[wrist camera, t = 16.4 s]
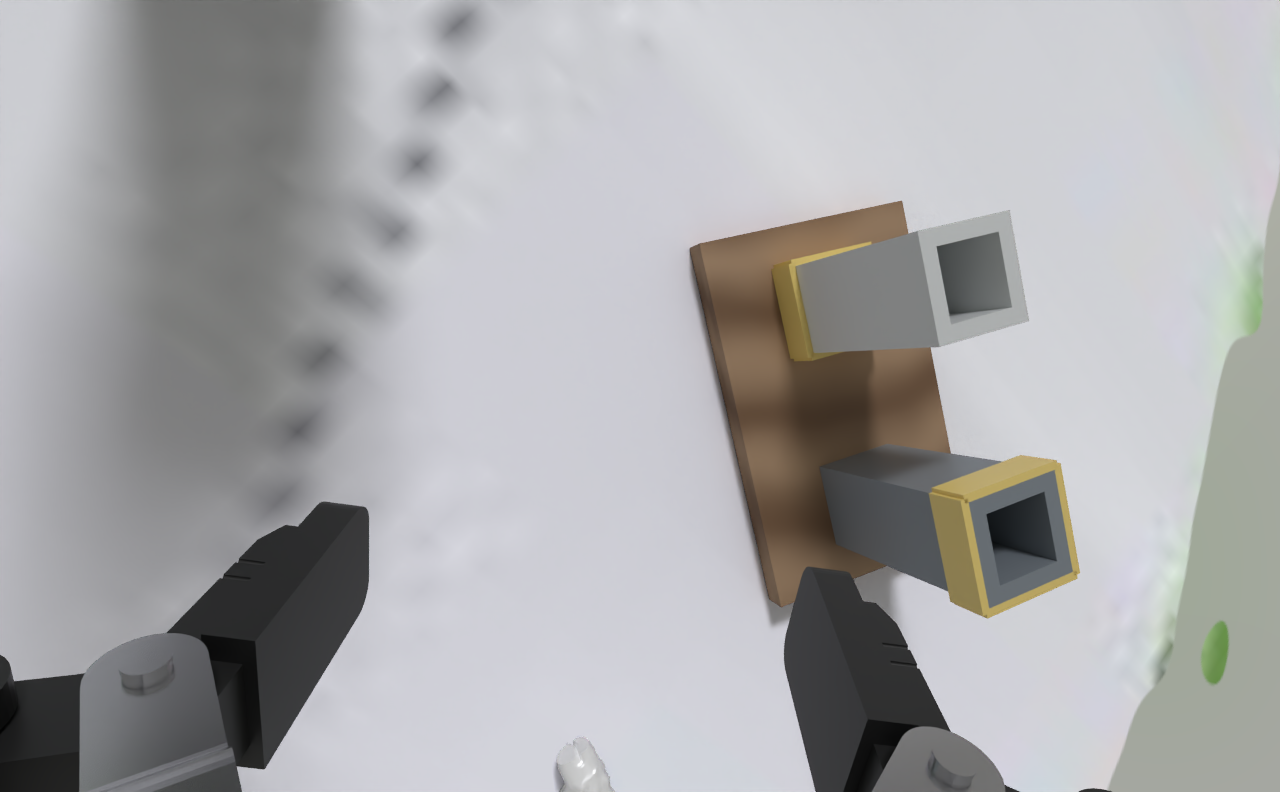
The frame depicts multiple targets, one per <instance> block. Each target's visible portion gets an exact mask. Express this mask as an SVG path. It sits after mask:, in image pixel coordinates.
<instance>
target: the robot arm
mask: <svg viewBox="0 0 1280 792" xmlns="http://www.w3.org/2000/svg"><path fill="white" fill-rule="evenodd" d="M368 583H369V515H368V511H367V509H366V508H365V507H361V506H354V505H346V504H338V503H331V502H321V503H319V504H318V505H317V506H316V507H315V508H314V510H313V511H312V512H311V513H310V514H309V515H308V516H307V517H306V518H305V519H304V521H303V522H302V523H301V524H300V525H299V526H298V527H296V526H288V525H285V526H283V527H281V528H279V529H277V530H275V531H273V532H271V533H269V534H268V535H266V536H264V537H262V538H260V539H258V540H257V541H256V542H255V543H254V544H253V545H252V546H251V547H250V548H249V549H248V550H247V551H246V552H245V553H244V554H243V555H242V556H241V557H240V558H239V562H238V563H236V562H235V563H234V564H233V565H232V566H231V567H230V568H229V570H228V571H227V572H226V573H225V574H224V576H223V579H221V578H220V579H219V580H218V581H217V582H216V583H215V584H214V585H213V586H212V587H211V588H210V589H209V590H208V591H207V592H206V593H205V594H204V595H203V596H202V597H201V598H200V599H199V600H198V601H197V602H196V603H195V604H194V605H193V606H192V607H191V608H190V609H189V610H188V611H187V613H186V614H185V615H184V616H183V617H182V618H181V619H180V620H179V621H178V622H177V623H176V624H175V625H174V626H173V627H172V628H171V629H170V630H169V631H168V632H167V633H163V634H155V635H150V636H145V637H141V638H138V639H135V640H132V641H129V642H127V643H124V644H122V645H120V646H118V647H116V648H114V649H112V650H111V651H109V652H107V653H106V654H104V655H103V656H102V657H100V658H99V659H98V660H96V661H95V662H94V663H93V664H92V665H91V666H90V667H89V669H88V670H87V671H86V673H84V674H77V675H69V676H60V677H51V678H42V679H32V680H23V681H14V680H13V676H12V671H11V667H10V664H9V662H8V661H7V659H6V658H5V657H3V656H1V655H0V792H242V790H241V785H240V781H239V776H238V771H237V767H236V766H240V767H248V768H257V769H265V768H266V766H267V764H268V763H269V761H270V760H271V758H272V756H273V755H274V753H275V751H276V750H277V748H278V746H279V745H280V743H281V742H282V740H283V738H284V737H285V735H286V733H287V732H288V730H289V728H290V727H291V725H292V724H293V722H294V720H295V719H296V717H297V715H298V714H299V712H300V711H301V709H302V707H303V706H304V704H305V702H306V701H307V699H308V697H309V696H310V694H311V693H312V691H313V689H314V688H315V686H316V684H317V683H318V681H319V679H320V678H321V676H322V675H323V673H324V671H325V670H326V668H327V666H328V665H329V663H330V661H331V660H332V658H333V657H334V655H335V653H336V652H337V650H338V648H339V647H340V645H341V644H342V642H343V640H344V639H345V637H346V635H347V634H348V632H349V630H350V629H351V627H352V626H353V624H354V622H355V621H356V619H357V617H358V616H359V614H360V612H361V610H362V607H363V605H364V602H365V598H366V594H367V590H368ZM907 647H908V645H907V643H906V641H905V639H904V637H903V635H902V633H901V631H900V629H899V627H898V625H897V624H896V623H895V622H894V621H893V620H892V619H891V618H890V617H889V616H888V615H887V614H886V613H885V612H884V611H883V610H882V609H881V608H880V607H879V606H878V605H877V604H876V603H871V602H863V600H862V598H861V596H860V594H859V591H858V589H857V587H856V585H855V583H854V580H853V578H852V576H851V574H850V573H849V572H847V571H839V570H832V569H824V568H817V567H806V568H805V570H804V571H803V574H802V577H801V580H800V584H799V588H798V591H797V595H796V599H795V603H794V606H793V610H792V614H791V617H790V621H789V625H788V629H787V632H786V637H785V645H784V664H785V670H786V674H787V678H788V682H789V686H790V690H791V694H792V698H793V702H794V706H795V710H796V714H797V718H798V722H799V726H800V730H801V734H802V739H803V743H804V747H805V751H806V755H807V759H808V763H809V767H810V771H811V775H812V779H813V783H814V787H815V791H816V792H1019V791H1017V790H1014V789H1012V788H1010V787H1008V786H1006V785H1004V782H1003V779H1002V777H1001V775H1000V773H999V771H998V769H997V768H996V766H995V765H994V764H993V762H992V761H991V760H990V759H989V758H988V757H987V756H986V755H985V754H984V753H983V752H982V751H981V750H980V749H979V748H977V747H976V746H975V745H973V744H972V743H971V742H969V741H967V740H966V739H964V738H963V737H961V736H959V735H957V734H955V733H952V732H951V731H950V729H949V727H948V725H947V723H946V721H945V719H944V717H943V715H942V713H941V711H940V709H939V707H938V705H937V703H936V701H935V699H934V697H933V695H932V693H931V691H930V689H929V687H928V685H927V683H926V681H925V679H924V677H923V675H922V673H921V671H920V669H917V663H916V661H915V659H914V657H913V655H912V653H911V651H910V650H908V648H907ZM1079 792H1111V791H1107V790H1103V789H1094V788H1092V789H1084V790H1081V791H1079Z"/></svg>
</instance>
